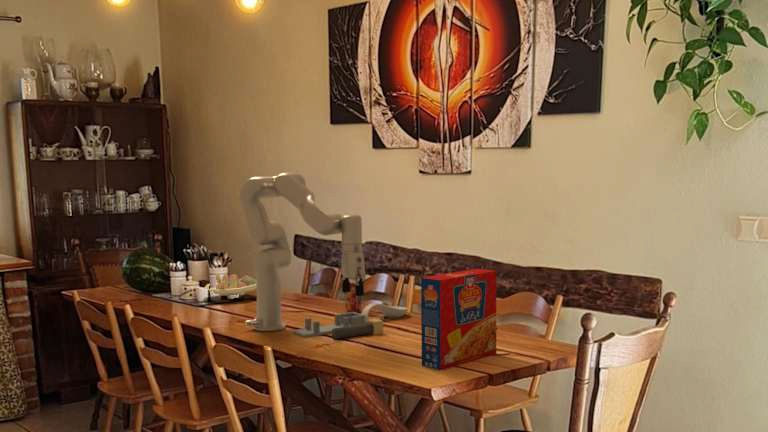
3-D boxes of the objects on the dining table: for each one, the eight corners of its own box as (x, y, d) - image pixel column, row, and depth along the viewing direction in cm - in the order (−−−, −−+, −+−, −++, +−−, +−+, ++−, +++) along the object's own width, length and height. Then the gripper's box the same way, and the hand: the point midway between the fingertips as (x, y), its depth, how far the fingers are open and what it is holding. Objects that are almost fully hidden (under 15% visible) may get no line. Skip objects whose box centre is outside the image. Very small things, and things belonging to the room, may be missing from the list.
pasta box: (440, 370, 209) (440, 280, 207) (421, 365, 215) (421, 277, 213) (496, 353, 228) (496, 270, 227) (477, 349, 234) (477, 268, 232)
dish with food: (203, 305, 319) (202, 275, 319) (202, 295, 346) (202, 267, 346) (263, 302, 327) (263, 272, 326) (258, 292, 354) (258, 265, 353)
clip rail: (304, 337, 254) (303, 324, 254) (293, 332, 261) (293, 320, 261) (365, 328, 269) (365, 315, 268) (354, 324, 276) (353, 311, 276)
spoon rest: (394, 312, 300) (393, 296, 299) (413, 316, 291) (413, 299, 291) (354, 321, 283) (353, 304, 283) (373, 325, 275) (373, 307, 275)
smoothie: (366, 312, 300) (366, 266, 299) (350, 314, 296) (349, 268, 295) (356, 309, 307) (355, 265, 306) (340, 311, 303) (339, 266, 301)
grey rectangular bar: (337, 340, 249) (337, 327, 248) (331, 338, 253) (330, 325, 252) (383, 333, 260) (383, 320, 259) (376, 330, 264) (376, 318, 263)
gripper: (373, 249, 248) (373, 296, 249) (348, 245, 262) (349, 290, 263) (355, 250, 244) (356, 298, 245) (331, 247, 258) (332, 292, 259)
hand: (352, 293), depth 254 cm, fingers open, 9 cm apart
